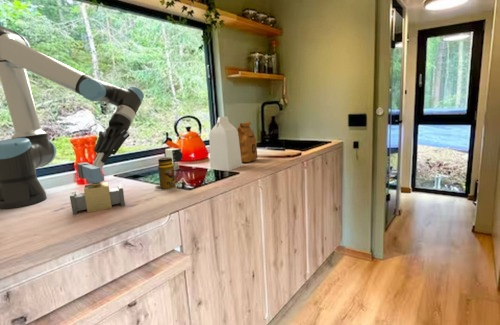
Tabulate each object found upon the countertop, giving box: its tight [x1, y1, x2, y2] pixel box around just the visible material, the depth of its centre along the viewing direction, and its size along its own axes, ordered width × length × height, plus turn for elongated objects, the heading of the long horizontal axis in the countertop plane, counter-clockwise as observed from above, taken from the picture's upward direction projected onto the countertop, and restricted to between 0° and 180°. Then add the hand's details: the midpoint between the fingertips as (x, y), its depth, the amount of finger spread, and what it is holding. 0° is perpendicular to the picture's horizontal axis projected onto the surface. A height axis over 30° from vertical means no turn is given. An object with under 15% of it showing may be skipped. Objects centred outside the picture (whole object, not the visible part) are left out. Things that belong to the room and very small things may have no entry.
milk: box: [208, 116, 243, 172], centre depth 151 cm, size 12×12×26 cm
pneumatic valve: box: [163, 146, 184, 171], centre depth 155 cm, size 6×12×12 cm, turn 42°
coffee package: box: [236, 121, 258, 164], centre depth 165 cm, size 10×12×22 cm
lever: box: [76, 161, 105, 184], centre depth 101 cm, size 5×17×5 cm, turn 44°
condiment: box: [154, 157, 178, 192], centre depth 118 cm, size 7×8×12 cm
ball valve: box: [69, 181, 126, 216], centre depth 97 cm, size 15×7×9 cm, turn 117°
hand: (95, 169), depth 105 cm, fingers closed
